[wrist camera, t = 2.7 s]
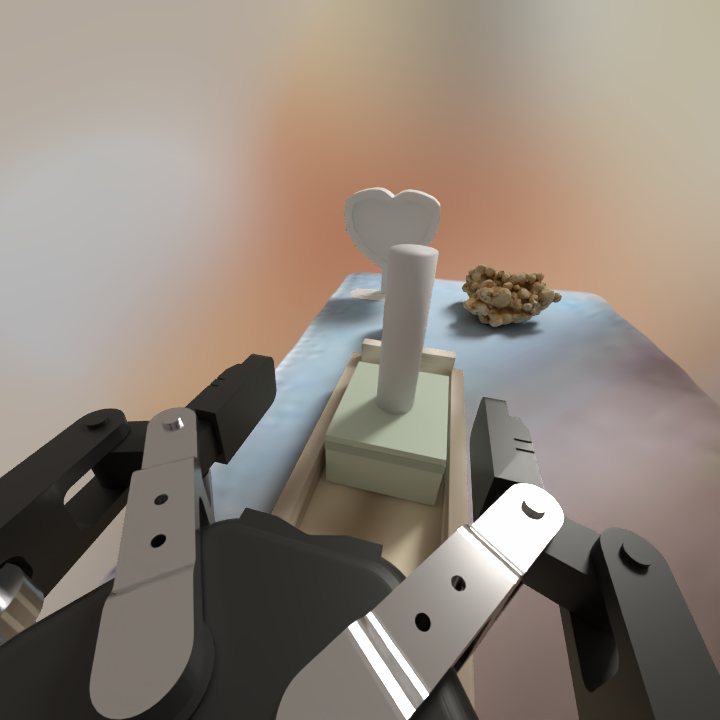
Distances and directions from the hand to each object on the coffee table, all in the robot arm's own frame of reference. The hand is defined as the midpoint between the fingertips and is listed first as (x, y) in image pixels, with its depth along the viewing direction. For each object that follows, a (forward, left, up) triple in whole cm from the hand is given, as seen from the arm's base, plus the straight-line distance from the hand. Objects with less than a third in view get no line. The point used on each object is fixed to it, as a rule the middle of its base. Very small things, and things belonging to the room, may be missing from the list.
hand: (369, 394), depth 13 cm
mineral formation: (-14, -47, -16) cm, 51 cm away
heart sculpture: (+7, -49, -16) cm, 52 cm away
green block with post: (0, -11, -14) cm, 18 cm away
